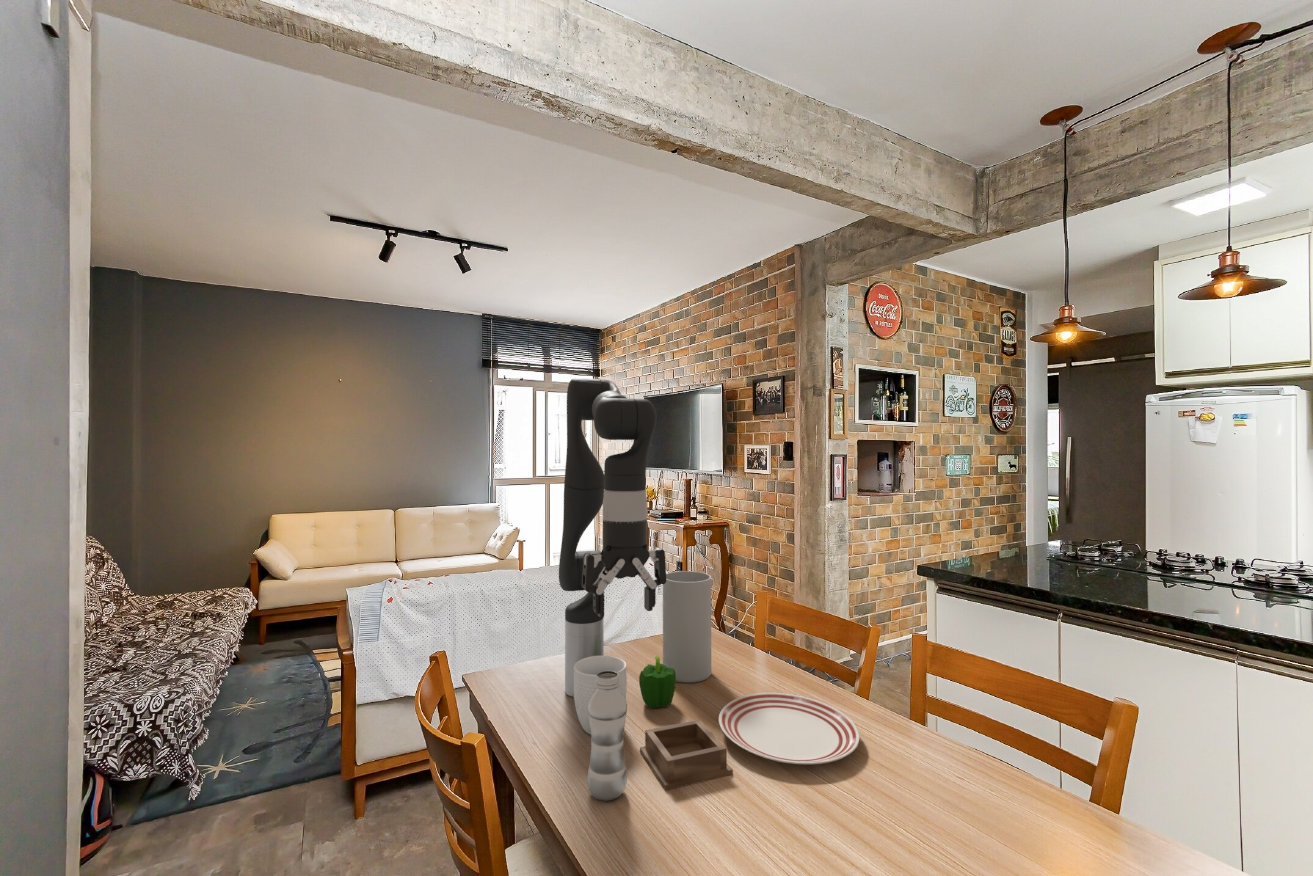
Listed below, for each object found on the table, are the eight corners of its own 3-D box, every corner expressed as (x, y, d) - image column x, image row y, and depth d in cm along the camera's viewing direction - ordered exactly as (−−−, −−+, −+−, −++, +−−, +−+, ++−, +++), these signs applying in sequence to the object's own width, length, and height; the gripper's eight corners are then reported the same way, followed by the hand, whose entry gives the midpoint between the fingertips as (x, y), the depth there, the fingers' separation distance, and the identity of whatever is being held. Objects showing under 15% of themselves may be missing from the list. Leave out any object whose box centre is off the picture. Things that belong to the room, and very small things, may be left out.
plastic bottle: (587, 783, 97) (587, 667, 98) (626, 781, 98) (626, 666, 98) (586, 807, 91) (586, 683, 91) (627, 805, 92) (627, 681, 92)
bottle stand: (639, 751, 108) (639, 729, 108) (701, 738, 112) (701, 717, 112) (665, 790, 96) (665, 764, 96) (732, 774, 100) (732, 749, 100)
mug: (646, 740, 112) (646, 674, 112) (597, 756, 106) (597, 687, 106) (610, 710, 124) (610, 651, 125) (564, 724, 118) (564, 662, 119)
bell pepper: (669, 715, 122) (669, 668, 123) (634, 709, 125) (634, 664, 125) (680, 698, 130) (680, 655, 131) (647, 693, 133) (647, 651, 133)
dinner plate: (882, 736, 114) (881, 719, 114) (818, 798, 94) (818, 778, 94) (765, 695, 132) (765, 681, 133) (691, 740, 112) (691, 723, 112)
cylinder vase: (713, 684, 138) (713, 582, 139) (662, 684, 138) (662, 582, 139) (709, 664, 151) (709, 571, 151) (662, 664, 151) (662, 571, 151)
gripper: (655, 512, 101) (655, 602, 101) (578, 515, 95) (577, 611, 95) (672, 517, 94) (672, 614, 94) (589, 521, 88) (589, 624, 88)
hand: (624, 612), depth 95 cm, fingers open, 8 cm apart
